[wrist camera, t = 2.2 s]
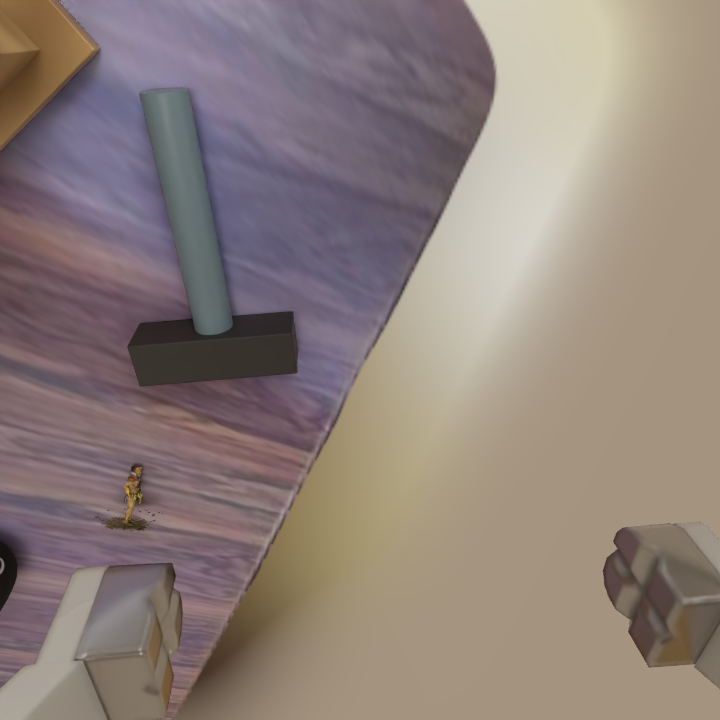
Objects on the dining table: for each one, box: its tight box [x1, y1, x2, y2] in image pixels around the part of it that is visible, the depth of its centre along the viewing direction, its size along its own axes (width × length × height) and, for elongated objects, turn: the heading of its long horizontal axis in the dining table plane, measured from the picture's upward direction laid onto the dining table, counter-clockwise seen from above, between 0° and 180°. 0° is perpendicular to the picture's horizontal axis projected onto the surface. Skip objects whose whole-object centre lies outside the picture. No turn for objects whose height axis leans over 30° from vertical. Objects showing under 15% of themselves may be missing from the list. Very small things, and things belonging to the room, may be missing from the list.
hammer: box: [128, 88, 298, 386], centre depth 31 cm, size 16×10×3 cm, turn 2°
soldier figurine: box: [95, 465, 163, 531], centre depth 41 cm, size 2×1×4 cm
